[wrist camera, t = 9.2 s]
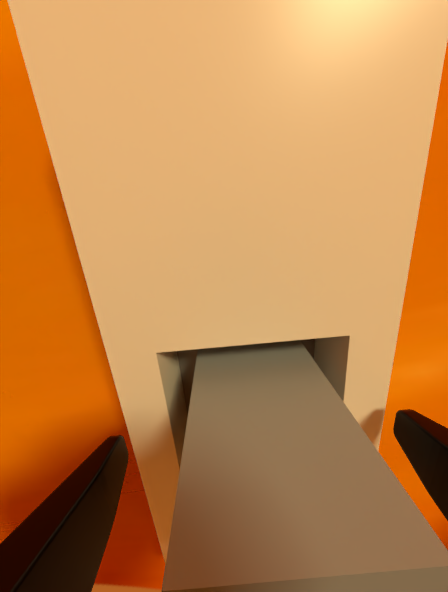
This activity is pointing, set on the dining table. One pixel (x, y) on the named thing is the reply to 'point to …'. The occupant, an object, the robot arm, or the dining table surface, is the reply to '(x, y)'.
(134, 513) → the dining table surface
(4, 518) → the dining table surface
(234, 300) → the cream socket panel
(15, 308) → the dining table surface
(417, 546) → the plug
